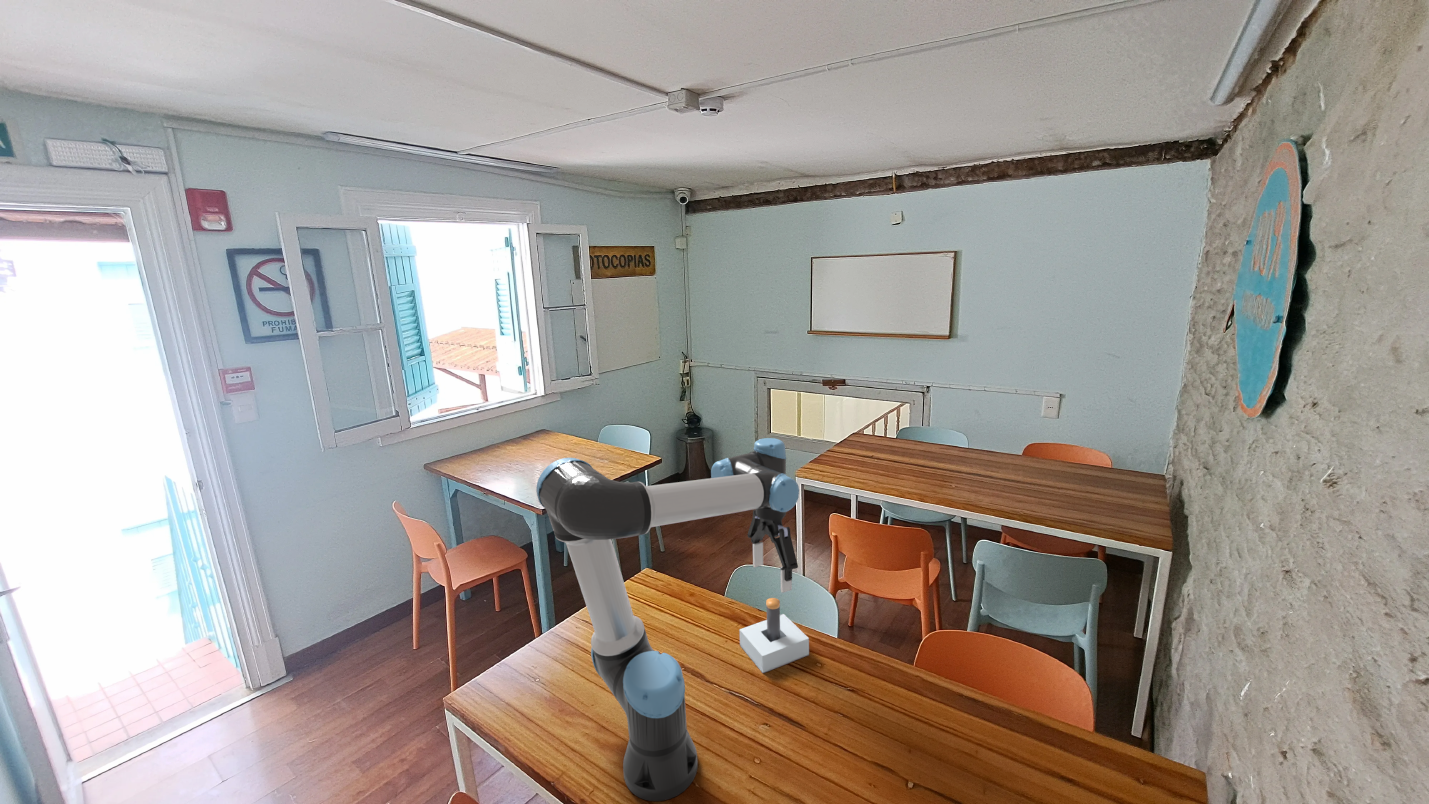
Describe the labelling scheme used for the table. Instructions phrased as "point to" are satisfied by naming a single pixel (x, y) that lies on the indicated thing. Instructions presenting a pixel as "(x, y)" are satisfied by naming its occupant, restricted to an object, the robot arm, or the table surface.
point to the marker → (773, 619)
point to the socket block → (774, 644)
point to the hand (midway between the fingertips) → (771, 577)
